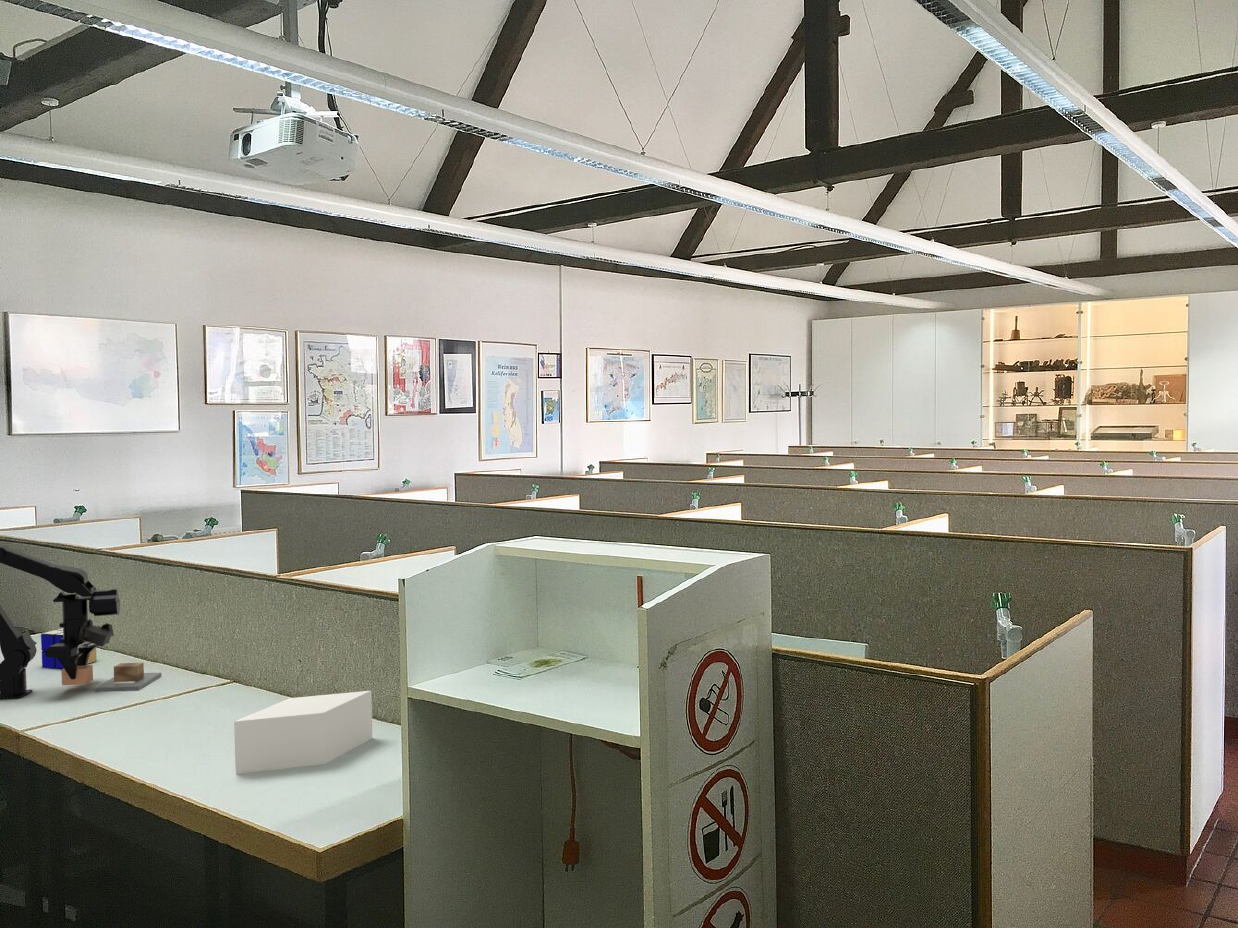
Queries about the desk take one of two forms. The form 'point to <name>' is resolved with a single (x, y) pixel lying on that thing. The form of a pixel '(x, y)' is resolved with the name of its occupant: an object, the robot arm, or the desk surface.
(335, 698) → the block
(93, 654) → the puzzle cube
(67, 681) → the terracotta brick
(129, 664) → the walnut brick
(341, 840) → the desk surface
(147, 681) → the baseplate
